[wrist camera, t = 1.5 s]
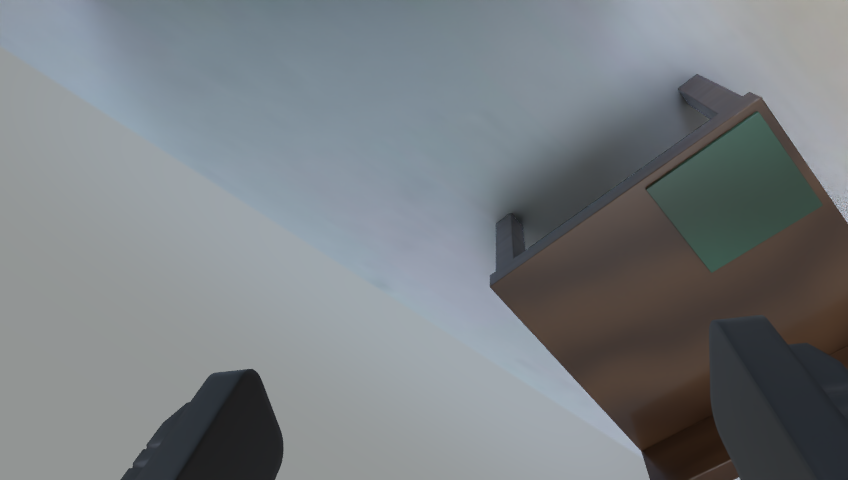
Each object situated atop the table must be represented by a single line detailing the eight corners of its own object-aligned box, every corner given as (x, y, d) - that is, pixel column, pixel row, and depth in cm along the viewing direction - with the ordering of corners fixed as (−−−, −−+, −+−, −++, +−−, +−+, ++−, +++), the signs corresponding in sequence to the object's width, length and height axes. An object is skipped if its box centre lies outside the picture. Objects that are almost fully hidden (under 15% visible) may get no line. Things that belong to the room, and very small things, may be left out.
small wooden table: (490, 223, 36) (488, 319, 26) (698, 67, 31) (795, 112, 21) (624, 374, 39) (668, 510, 29) (831, 255, 34) (969, 371, 24)
